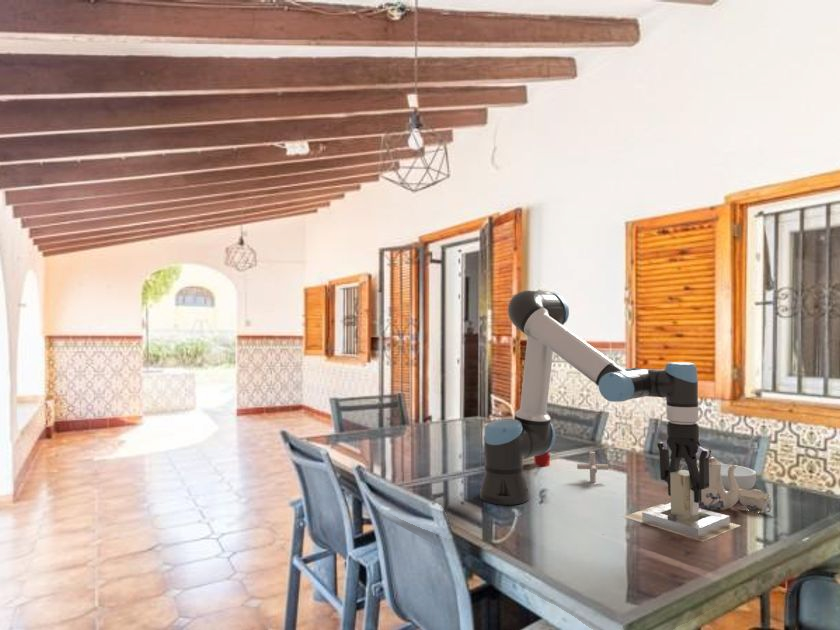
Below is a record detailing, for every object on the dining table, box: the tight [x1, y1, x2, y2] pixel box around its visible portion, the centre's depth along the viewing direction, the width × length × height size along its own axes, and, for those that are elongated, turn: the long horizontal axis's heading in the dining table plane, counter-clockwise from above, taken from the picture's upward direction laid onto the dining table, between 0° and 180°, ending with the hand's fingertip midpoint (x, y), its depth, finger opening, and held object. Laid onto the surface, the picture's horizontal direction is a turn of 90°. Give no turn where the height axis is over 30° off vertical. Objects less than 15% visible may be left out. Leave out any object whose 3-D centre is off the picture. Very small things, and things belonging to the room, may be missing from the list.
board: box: [622, 503, 742, 542], centre depth 145 cm, size 18×22×1 cm
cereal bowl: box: [697, 463, 757, 491], centre depth 174 cm, size 17×17×7 cm
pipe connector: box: [576, 451, 609, 484], centre depth 187 cm, size 10×10×10 cm
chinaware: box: [679, 453, 772, 514], centre depth 159 cm, size 28×17×17 cm, turn 44°
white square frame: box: [641, 502, 731, 540], centre depth 143 cm, size 15×15×4 cm
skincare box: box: [670, 469, 699, 522], centre depth 143 cm, size 6×4×12 cm
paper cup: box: [533, 449, 551, 467], centre depth 211 cm, size 8×8×14 cm
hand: (684, 511), depth 143 cm, fingers open, 4 cm apart
